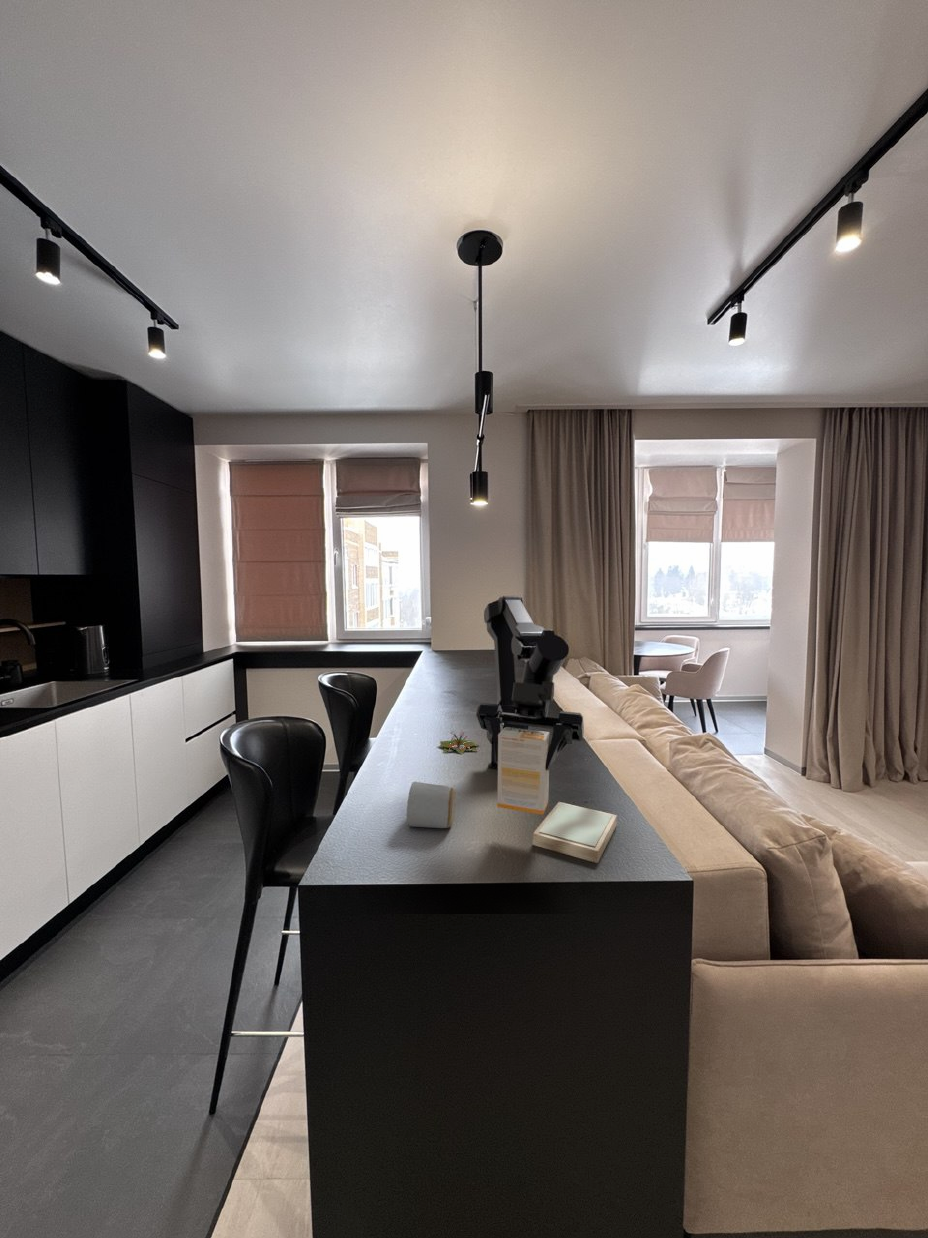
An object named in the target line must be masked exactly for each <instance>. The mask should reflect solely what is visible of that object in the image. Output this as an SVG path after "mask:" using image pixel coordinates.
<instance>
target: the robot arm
mask: <svg viewBox="0 0 928 1238" xmlns="http://www.w3.org/2000/svg"><path fill="white" fill-rule="evenodd" d="M523 603H524V602H523V598H522V596H518V595H502V596H499V598H498V599H497V600H495V601H492V602H490V603H488V604H487V605H486V606H485V609H484V611H483V621H484V623H485V624H486V631H487V633H488V634H489V636H490V637H491V639H492V640H493V646H494V658H495V660H494V661H495V662H494V663H495V674H496V675H495V676H496V677H495V678H496V679H495V680H496V695H497V701H496V703H488V702H487V703H486V702H482V703H481V704H480V705H478V706H477V710H476V714H475V715H476V718H477V720H478V722H479V726H480V728H481V729H482V730H484V731H486V738H487V740H488V741H489V743H490V744H491V748H490V749H491V750H490V751H491V752H490V763H488V764H487V767H488V768H491V769H497V770H498V734H499V733H500V732H501V731H502V730H503V729H504V728H505V727H511V728H519V729H527V730H529V727H533V728H541V729H549V730H550V729H551V730H552V735H551V736H552V737H551V739H550V740H551V741H550V744H549V751H548V755H547V759H546V767H545V768H546V770H547V771H548V770H549V771H550V768H551V767H552V765H553V764H554V762H555V760H556V759H557V757H558V756H559V754H561V752H562V751H563V749H565V747H566V746H567V745H573V743H574V742H582V741H583V740H584V733H585V732H584V731H585V726H584V725H585V724H584V716H583V715H582V714H581V712H575V711H574V712H573V711H565V710H561V711H559V713H558V714H559V716H558V718H557V717H551V716H548V712H549V706H550V702H554V697H555V683H554V681H553V680H554V675H556V674H558V672H560V671H559V670H560V669H561V667H562V665H563V663H564V662H565V660H566V658H567V657H568V654H569V651H570V650H569V649H570V648H569V644H568V643H567V641H566V640H565V639H564V638H562V637H560V636H559V635H556V634H555V629H546V628H545V627H543V626H540V625H538V624H535V623H534V621H533V620H532V618H531V616H530V614H529V612H528V611H527V609H526V607H525V606H524V604H523ZM515 658H516V660H518V661H526V662H525V663H524V669H523V673H522V679H521V682H519V681H518V682H517V681H516V668H515V667H516V666H515Z"/></svg>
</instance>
